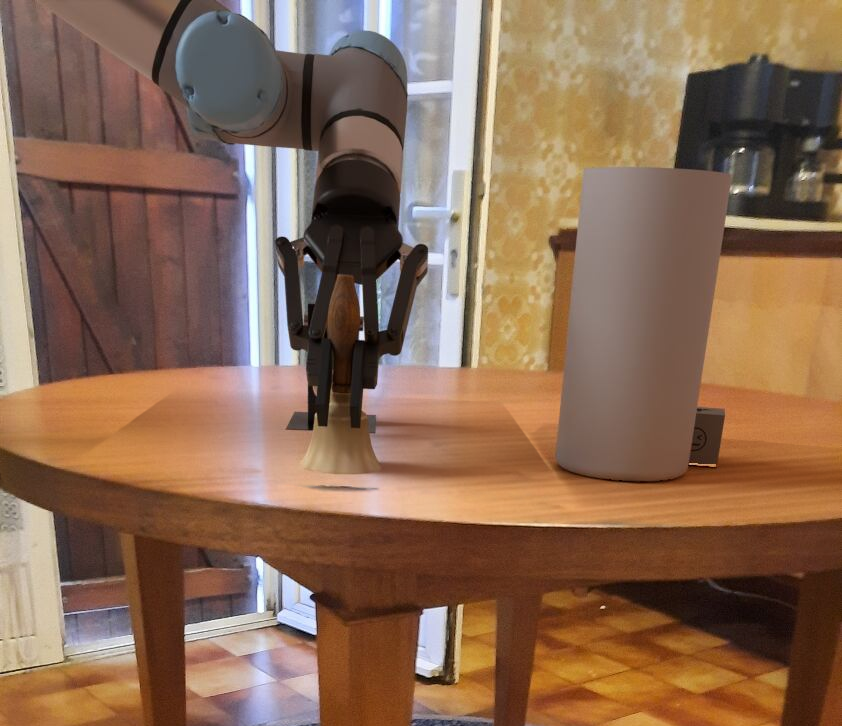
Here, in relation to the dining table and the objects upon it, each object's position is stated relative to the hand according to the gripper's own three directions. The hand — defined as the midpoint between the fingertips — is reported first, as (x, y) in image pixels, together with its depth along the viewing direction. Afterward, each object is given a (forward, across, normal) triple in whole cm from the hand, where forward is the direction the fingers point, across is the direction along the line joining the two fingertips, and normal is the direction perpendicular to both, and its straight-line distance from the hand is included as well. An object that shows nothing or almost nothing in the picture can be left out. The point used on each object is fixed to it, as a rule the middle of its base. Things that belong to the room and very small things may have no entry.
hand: (338, 416), depth 86 cm
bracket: (-15, +3, -24) cm, 28 cm away
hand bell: (+1, 0, -7) cm, 7 cm away
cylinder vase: (-7, -26, -15) cm, 30 cm away
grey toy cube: (-11, -34, -20) cm, 41 cm away
